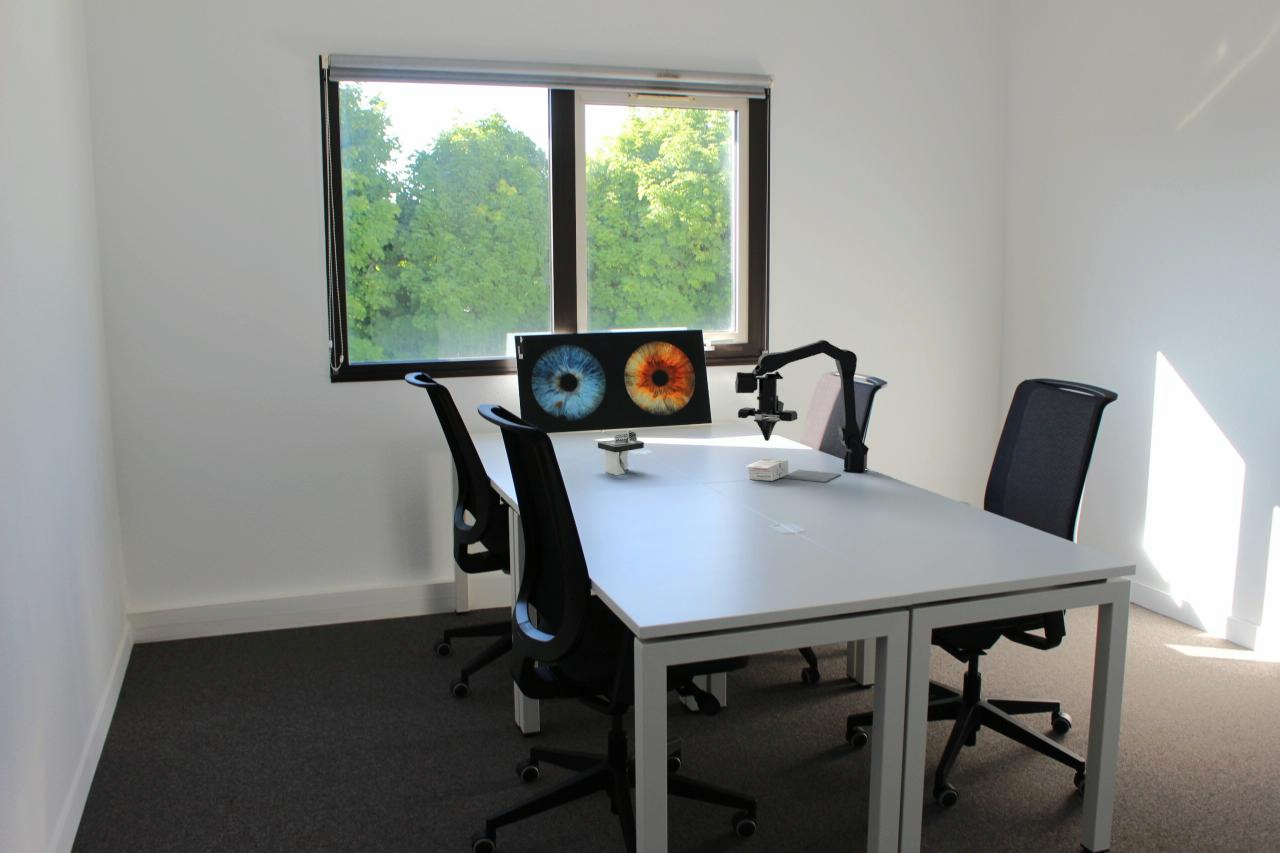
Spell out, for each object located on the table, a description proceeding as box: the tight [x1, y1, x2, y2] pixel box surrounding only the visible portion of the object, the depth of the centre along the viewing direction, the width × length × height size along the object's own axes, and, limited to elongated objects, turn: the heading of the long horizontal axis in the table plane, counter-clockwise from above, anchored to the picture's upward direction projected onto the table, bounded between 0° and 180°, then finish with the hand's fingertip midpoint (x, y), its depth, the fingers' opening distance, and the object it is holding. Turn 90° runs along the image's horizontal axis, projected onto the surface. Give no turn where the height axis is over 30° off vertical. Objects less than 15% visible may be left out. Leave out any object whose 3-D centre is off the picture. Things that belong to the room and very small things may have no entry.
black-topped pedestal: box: [597, 430, 645, 476], centre depth 353 cm, size 28×26×13 cm
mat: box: [781, 469, 841, 484], centre depth 347 cm, size 14×14×1 cm
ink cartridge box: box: [745, 458, 790, 482], centre depth 344 cm, size 9×5×15 cm
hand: (767, 440), depth 353 cm, fingers closed
